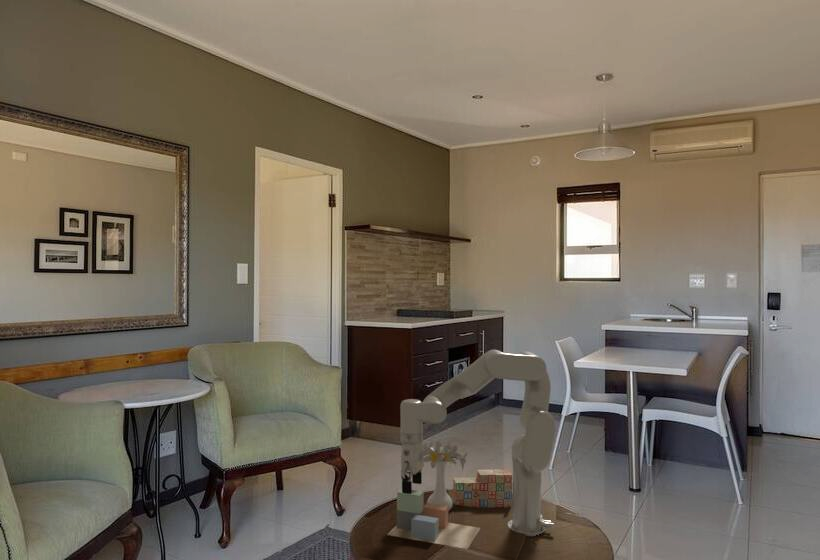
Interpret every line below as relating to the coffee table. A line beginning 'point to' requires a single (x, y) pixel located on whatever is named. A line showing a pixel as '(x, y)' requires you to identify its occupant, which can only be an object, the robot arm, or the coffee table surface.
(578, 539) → the coffee table surface
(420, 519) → the dusty blue brick
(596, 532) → the coffee table surface
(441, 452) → the flower vase
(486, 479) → the stack of blocks
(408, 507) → the sage brick
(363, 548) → the coffee table surface
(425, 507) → the terracotta brick
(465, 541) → the birch board
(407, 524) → the charcoal brick
